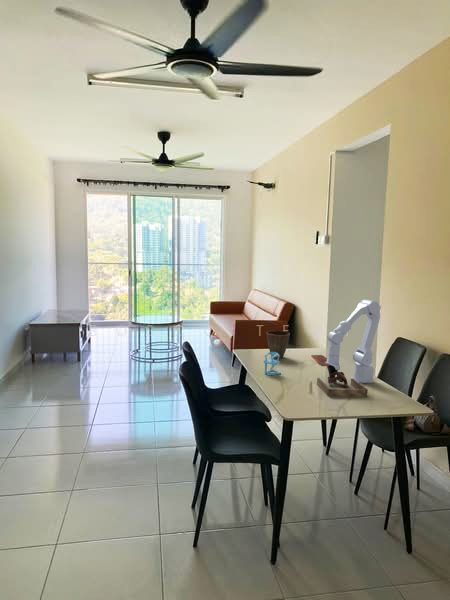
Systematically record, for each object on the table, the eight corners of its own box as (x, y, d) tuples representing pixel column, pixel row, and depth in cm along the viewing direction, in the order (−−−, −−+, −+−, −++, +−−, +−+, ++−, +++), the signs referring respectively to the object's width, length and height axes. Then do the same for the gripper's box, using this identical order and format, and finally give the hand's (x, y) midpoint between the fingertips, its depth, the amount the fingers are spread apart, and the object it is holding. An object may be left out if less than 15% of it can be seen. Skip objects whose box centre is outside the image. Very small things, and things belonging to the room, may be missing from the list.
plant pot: (264, 359, 255) (265, 334, 253) (266, 353, 270) (267, 329, 268) (288, 361, 253) (289, 336, 251) (288, 355, 267) (290, 331, 265)
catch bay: (352, 384, 212) (353, 378, 211) (367, 396, 195) (367, 389, 194) (316, 384, 210) (317, 377, 209) (328, 396, 193) (328, 389, 192)
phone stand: (261, 373, 226) (262, 352, 224) (271, 370, 231) (272, 350, 230) (271, 376, 220) (272, 355, 219) (281, 373, 226) (282, 353, 224)
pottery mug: (347, 391, 203) (340, 377, 202) (330, 395, 208) (323, 381, 207) (352, 378, 212) (345, 365, 212) (336, 382, 218) (329, 370, 217)
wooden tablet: (337, 367, 245) (337, 364, 245) (320, 367, 245) (321, 364, 244) (323, 356, 272) (324, 353, 271) (309, 355, 271) (309, 353, 271)
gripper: (321, 350, 220) (320, 374, 222) (331, 357, 206) (329, 383, 208) (334, 350, 221) (332, 375, 223) (344, 358, 207) (342, 383, 208)
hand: (331, 379), depth 215 cm, fingers closed
